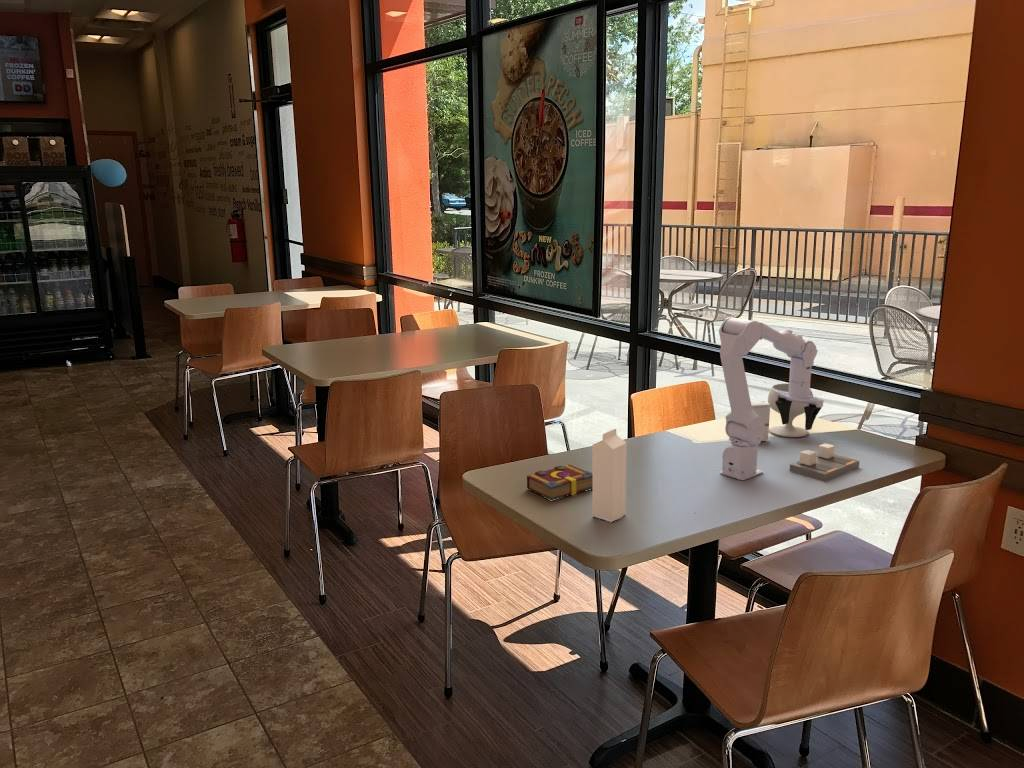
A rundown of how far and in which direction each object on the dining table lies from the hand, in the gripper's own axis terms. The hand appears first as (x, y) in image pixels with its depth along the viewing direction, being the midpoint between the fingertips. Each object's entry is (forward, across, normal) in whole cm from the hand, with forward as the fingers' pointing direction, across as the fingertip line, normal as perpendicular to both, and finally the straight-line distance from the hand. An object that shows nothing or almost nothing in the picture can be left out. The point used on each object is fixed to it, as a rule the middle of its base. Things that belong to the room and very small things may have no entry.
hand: (796, 426), depth 240 cm
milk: (+11, +5, +70) cm, 71 cm away
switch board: (+10, -10, +1) cm, 14 cm away
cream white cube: (+8, -8, +5) cm, 12 cm away
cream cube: (+8, -8, -4) cm, 12 cm away
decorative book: (+11, +27, +66) cm, 73 cm away
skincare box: (+10, +19, -8) cm, 23 cm away
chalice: (+10, +17, -22) cm, 29 cm away
